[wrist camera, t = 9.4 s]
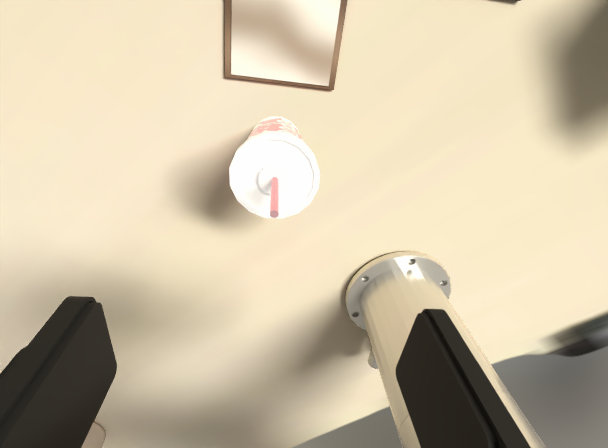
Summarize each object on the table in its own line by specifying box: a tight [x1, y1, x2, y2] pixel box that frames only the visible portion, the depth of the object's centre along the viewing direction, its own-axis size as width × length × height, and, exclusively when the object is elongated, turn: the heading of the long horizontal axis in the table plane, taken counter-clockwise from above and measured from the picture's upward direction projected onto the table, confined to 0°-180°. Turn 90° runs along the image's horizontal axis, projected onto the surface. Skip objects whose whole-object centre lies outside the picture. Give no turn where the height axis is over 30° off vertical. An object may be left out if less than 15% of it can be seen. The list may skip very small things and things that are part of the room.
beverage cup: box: [229, 116, 320, 218], centre depth 23 cm, size 6×6×14 cm
